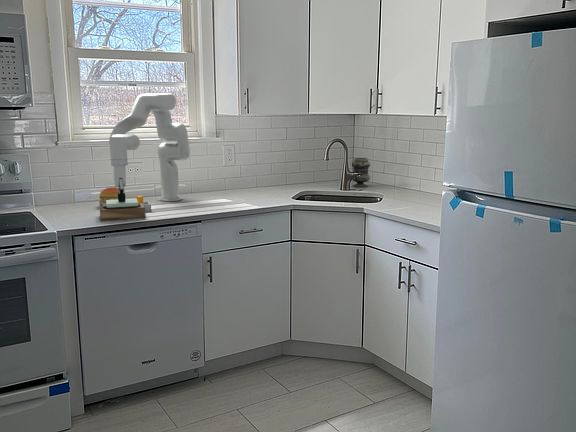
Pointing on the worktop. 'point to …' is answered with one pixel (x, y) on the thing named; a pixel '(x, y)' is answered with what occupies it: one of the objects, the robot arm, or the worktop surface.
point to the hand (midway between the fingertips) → (121, 200)
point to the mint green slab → (121, 203)
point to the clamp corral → (147, 206)
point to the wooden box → (121, 212)
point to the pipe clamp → (140, 199)
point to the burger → (109, 194)
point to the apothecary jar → (361, 171)
